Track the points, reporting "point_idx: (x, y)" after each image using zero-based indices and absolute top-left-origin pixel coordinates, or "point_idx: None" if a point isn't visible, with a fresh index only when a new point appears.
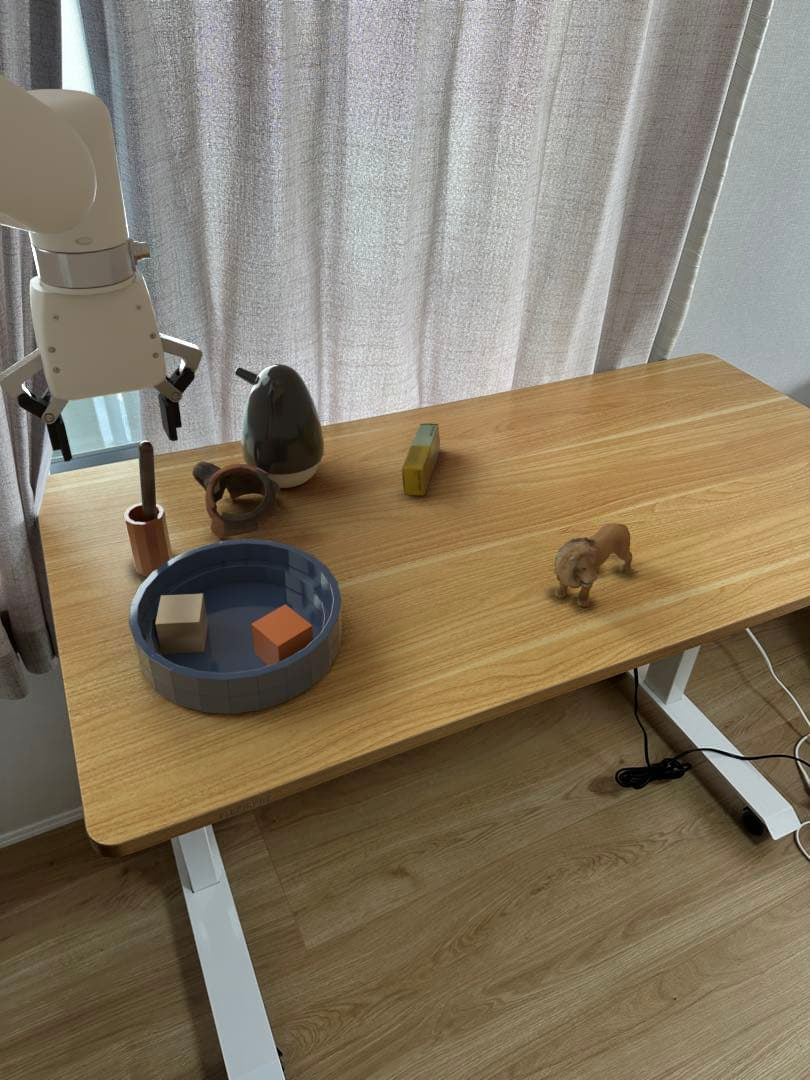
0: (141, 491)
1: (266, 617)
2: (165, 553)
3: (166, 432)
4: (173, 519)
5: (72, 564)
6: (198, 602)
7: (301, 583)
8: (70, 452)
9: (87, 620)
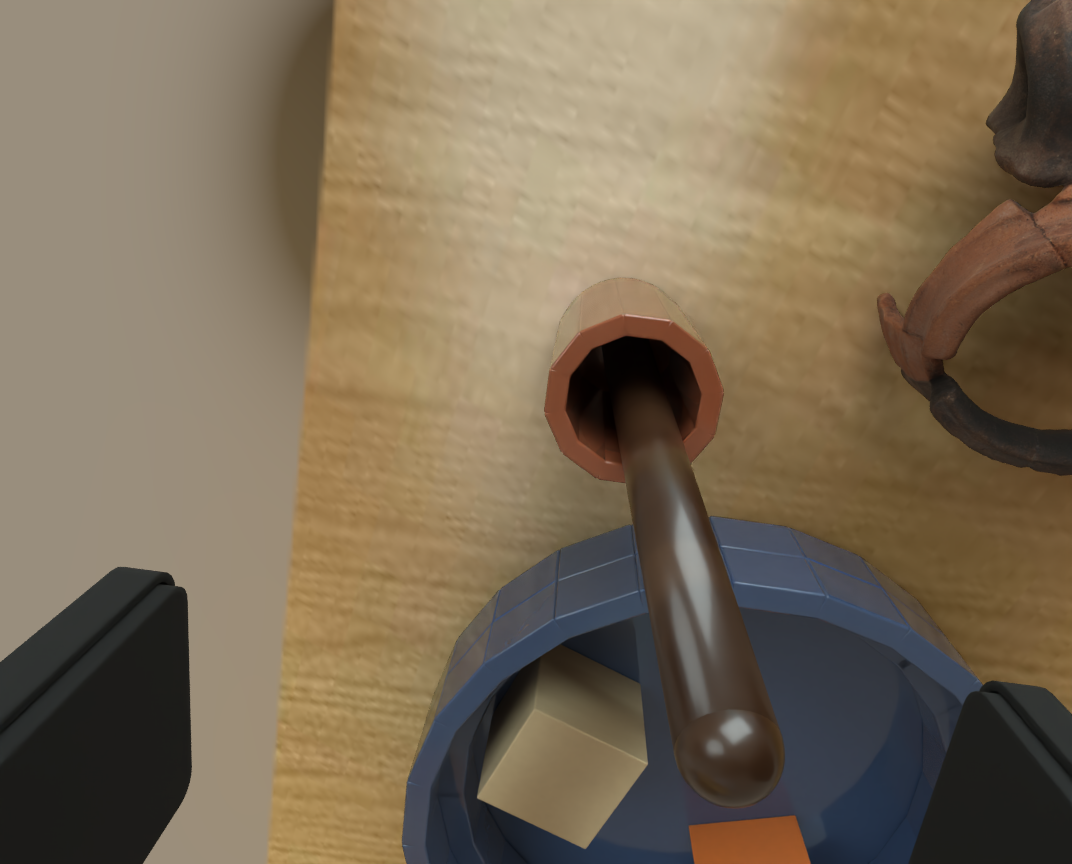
0: (633, 519)
1: None
2: None
3: (943, 808)
4: (803, 98)
5: (381, 182)
6: (618, 790)
7: (941, 754)
8: (154, 837)
9: (362, 476)
